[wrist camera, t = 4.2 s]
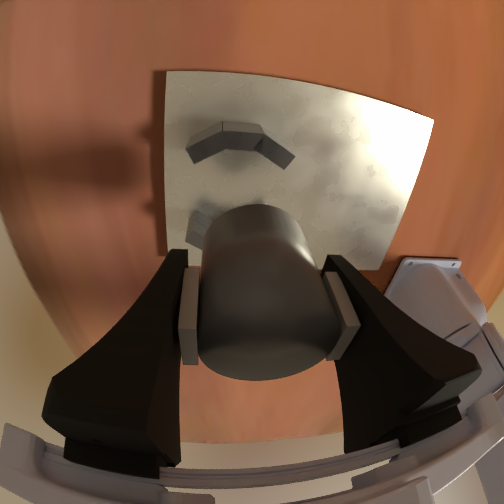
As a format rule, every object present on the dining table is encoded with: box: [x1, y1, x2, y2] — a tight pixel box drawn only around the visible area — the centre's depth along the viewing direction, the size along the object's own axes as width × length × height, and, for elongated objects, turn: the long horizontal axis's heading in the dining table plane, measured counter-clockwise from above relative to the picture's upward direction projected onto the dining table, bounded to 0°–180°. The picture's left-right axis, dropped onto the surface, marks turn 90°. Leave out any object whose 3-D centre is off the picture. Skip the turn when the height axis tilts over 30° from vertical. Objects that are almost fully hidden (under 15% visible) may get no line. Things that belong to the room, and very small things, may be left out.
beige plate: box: [164, 71, 434, 270], centre depth 18 cm, size 18×14×4 cm
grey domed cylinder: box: [178, 204, 361, 381], centre depth 10 cm, size 5×4×5 cm
